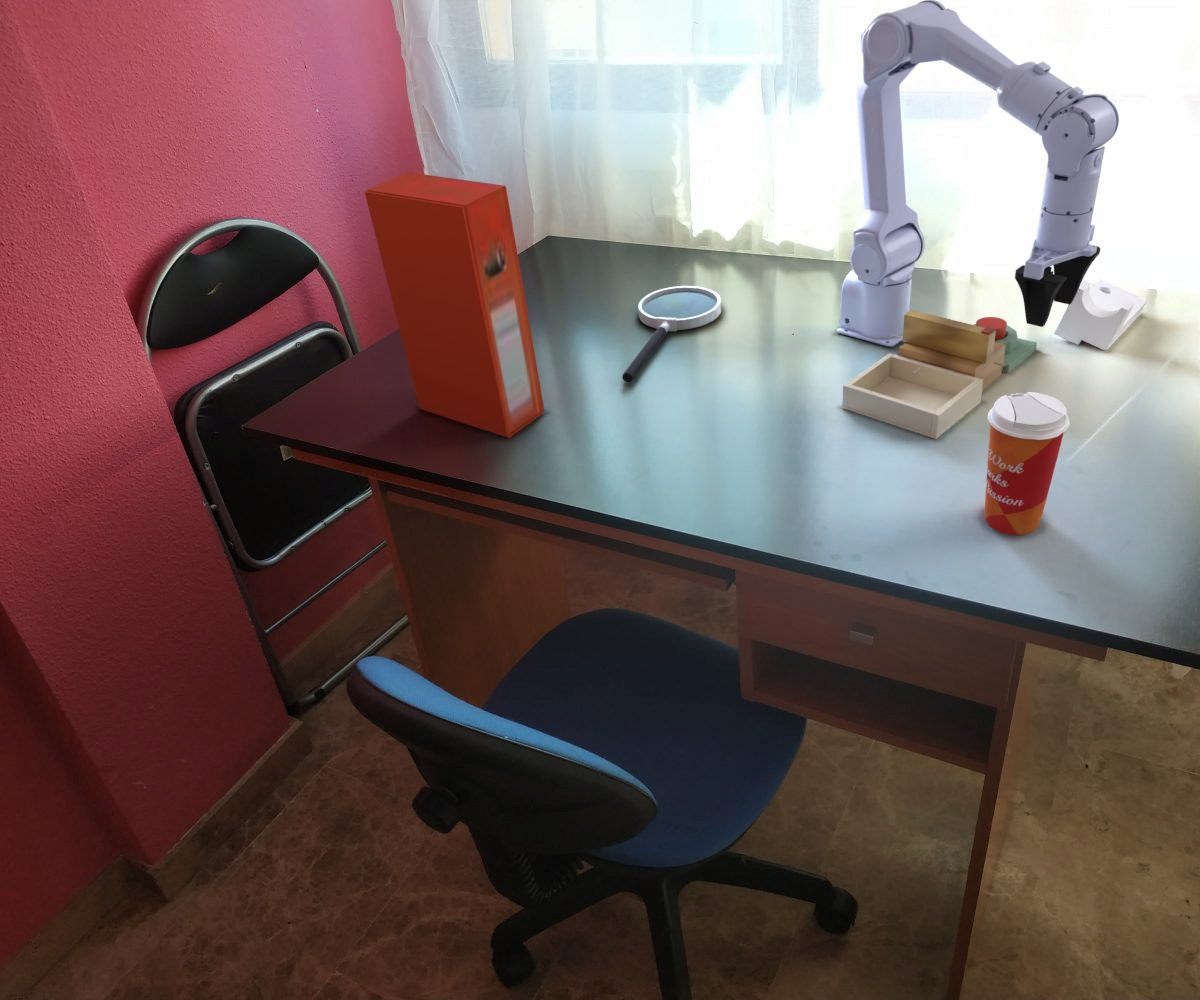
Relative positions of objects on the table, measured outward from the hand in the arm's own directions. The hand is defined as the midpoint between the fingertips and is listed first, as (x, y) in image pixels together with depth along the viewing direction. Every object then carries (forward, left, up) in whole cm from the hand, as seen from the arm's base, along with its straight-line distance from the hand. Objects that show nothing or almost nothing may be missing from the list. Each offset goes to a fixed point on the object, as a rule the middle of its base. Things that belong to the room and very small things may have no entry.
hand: (1049, 312), depth 124 cm
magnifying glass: (-52, -17, -10) cm, 55 cm away
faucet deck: (-10, -6, -10) cm, 15 cm away
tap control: (-9, +4, -10) cm, 14 cm away
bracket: (0, +19, -10) cm, 21 cm away
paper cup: (+11, -30, -10) cm, 34 cm away
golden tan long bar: (-10, -6, -5) cm, 13 cm away
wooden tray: (-10, -15, -10) cm, 20 cm away
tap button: (-9, +4, -7) cm, 12 cm away
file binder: (-58, -49, -10) cm, 76 cm away
